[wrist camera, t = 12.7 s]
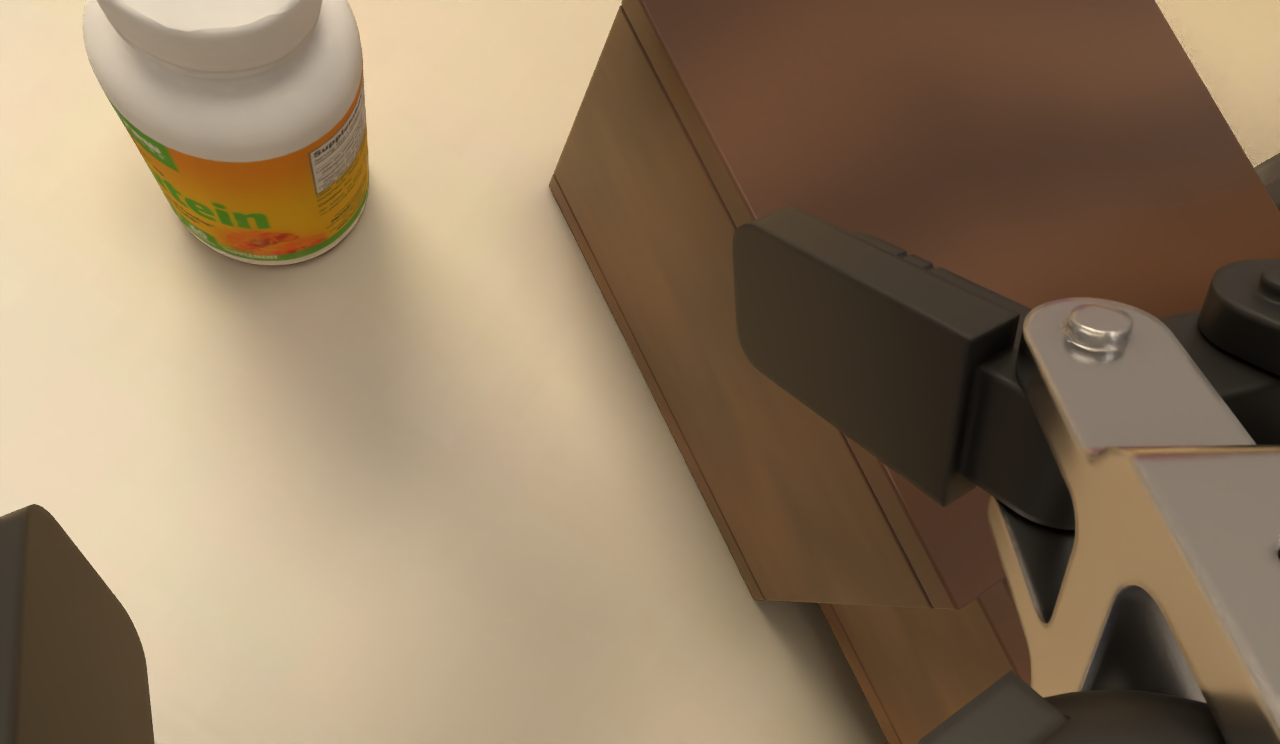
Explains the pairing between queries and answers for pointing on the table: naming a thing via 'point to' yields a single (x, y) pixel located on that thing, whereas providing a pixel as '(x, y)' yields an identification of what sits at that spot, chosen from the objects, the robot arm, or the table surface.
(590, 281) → the table surface
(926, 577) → the cabinet
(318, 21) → the supplement bottle
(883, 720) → the drawer
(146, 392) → the table surface
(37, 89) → the table surface
